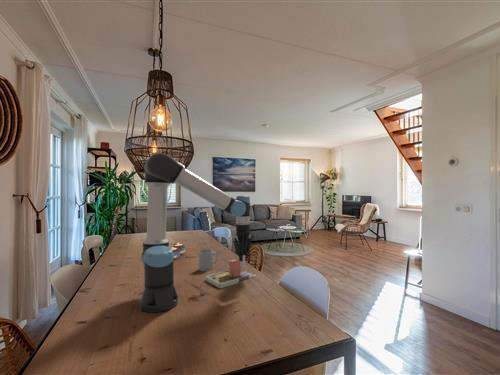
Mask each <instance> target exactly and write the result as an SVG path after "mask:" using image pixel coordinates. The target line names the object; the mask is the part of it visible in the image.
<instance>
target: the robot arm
mask: <svg viewBox="0 0 500 375" xmlns="http://www.w3.org/2000/svg"><path fill="white" fill-rule="evenodd" d="M143 166H144V168H143V169H144V184H145V185H146V186H147V214H146V215H147V216H146V238H145V239H144V240H142V252H141V257H140V258H141V261H142V264H143V272H144V276H143V277H144V279H143V280H144V289H143V292H142V294H141V297H140V301H139V309H140V310H141V311H142V310H143V311H142V312H144V311H145V313H149V312H150V313H152V314H153V313H162V312H166V311H168V310H171V309H173V308H174V307H176V306H177V305H178V304H179V295H178V292H177V290H176V287H175V284H174V283H175V280H174V276H175V275H174V273H175V272H174V262H175V261H174V258H175V254H174V250H173V248H172V247H170V240H169V238H167V216H168V212H167V210H168V209H167V207H168V187H169V186H170V185H171V184H172V185H174V184H176V185H178V186H181V187H182V188H184V189H185V190H187V191H189V192H190V193H193V194H194V195H196V196H198V197H199V198H201V199H202V200H205V201H206V202H209V203H210V204H212V205H213V206H214V212H215V213H216V214H218V215H223V214H225V215H228V216H229V215H230V216H234V217H235V223H236V224H235V231H236V233H235V236H234V237H232V238H231V240H232V241H233V246H234V249H235V251H234V252H235V254H236V255H238V258H239V259H238V260H239V261H240V268H242V269H244V268H246V261H247V256H248V254H250V250H251V247H252V246H251V244H252V240H253V238H254V236H253V235H251V234H250V230H251V229H250V228H251V224H250V223H251V222H250V221H251V217H250V216H251V214H250V213H251V198H250V196H249V195H236V197H235V198H234V197H233V196H231V195H229V194H227V193H226V192H225V191H223V190H221V189H219V188H218V187H216V186H214V185H213V184H211V183H209V182H208V181H206V180H205V179H203V178H201V177H200V176H198V175H197V174H195V173H193V172H191V171H189V170H188V169H186V166H185V165H184V164H182V163H181V162H179V161H178V160H177V159H175V158H174V157H172V156H170V155H169V154H167V153H164V152H156V153H153V154H152V155H150V156H149V158H148V159H146V160H145V163H144V165H143Z"/></svg>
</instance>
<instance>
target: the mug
mask: <svg viewBox="0 0 500 375" xmlns="http://www.w3.org/2000/svg"><path fill="white" fill-rule="evenodd" d="M214 256H215V260H214ZM218 258H219V256H218V253H217V252H216V251H213V249H209V248H208V249H207V248H206V249H200V250H199V251H198V271H199V272H207V271H212V270H213V269H214V264H216V263H217V262H218Z"/></svg>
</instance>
